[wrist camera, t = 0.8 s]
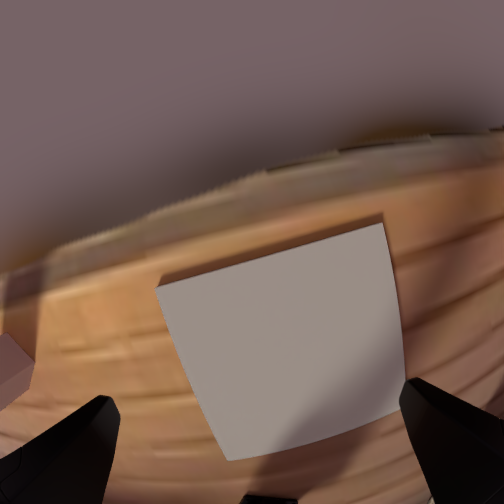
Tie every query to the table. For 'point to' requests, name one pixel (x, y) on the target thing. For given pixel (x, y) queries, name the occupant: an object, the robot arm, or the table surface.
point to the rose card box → (13, 370)
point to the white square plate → (291, 342)
